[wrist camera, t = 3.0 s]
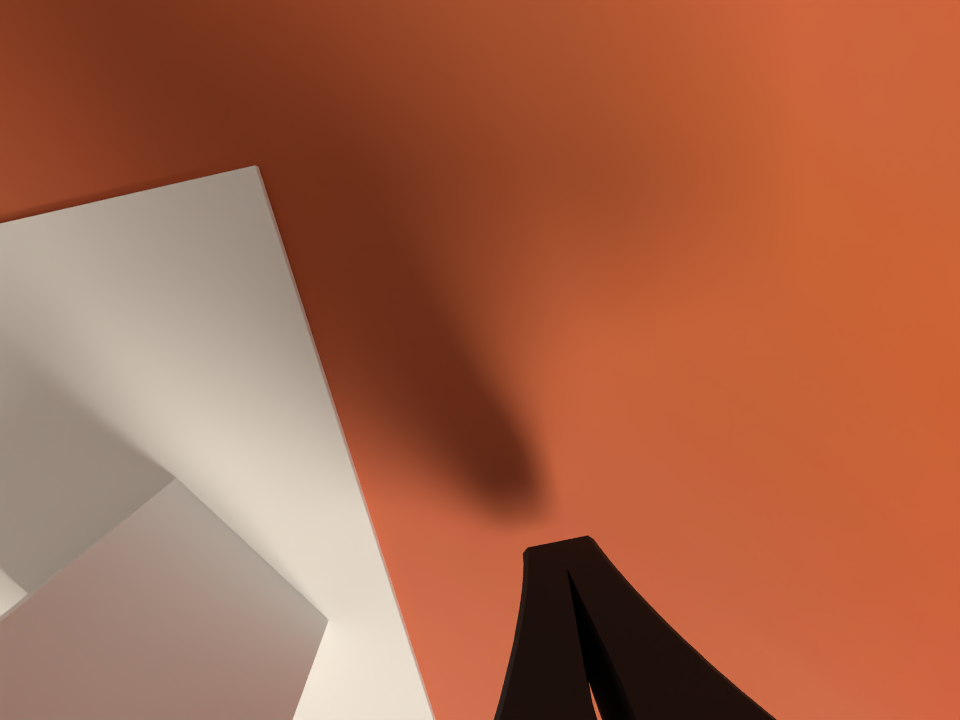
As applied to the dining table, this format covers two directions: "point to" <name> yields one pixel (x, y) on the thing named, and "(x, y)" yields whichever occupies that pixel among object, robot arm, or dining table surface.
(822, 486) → the dining table surface
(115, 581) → the cream white cube
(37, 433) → the subfloor board
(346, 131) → the dining table surface
